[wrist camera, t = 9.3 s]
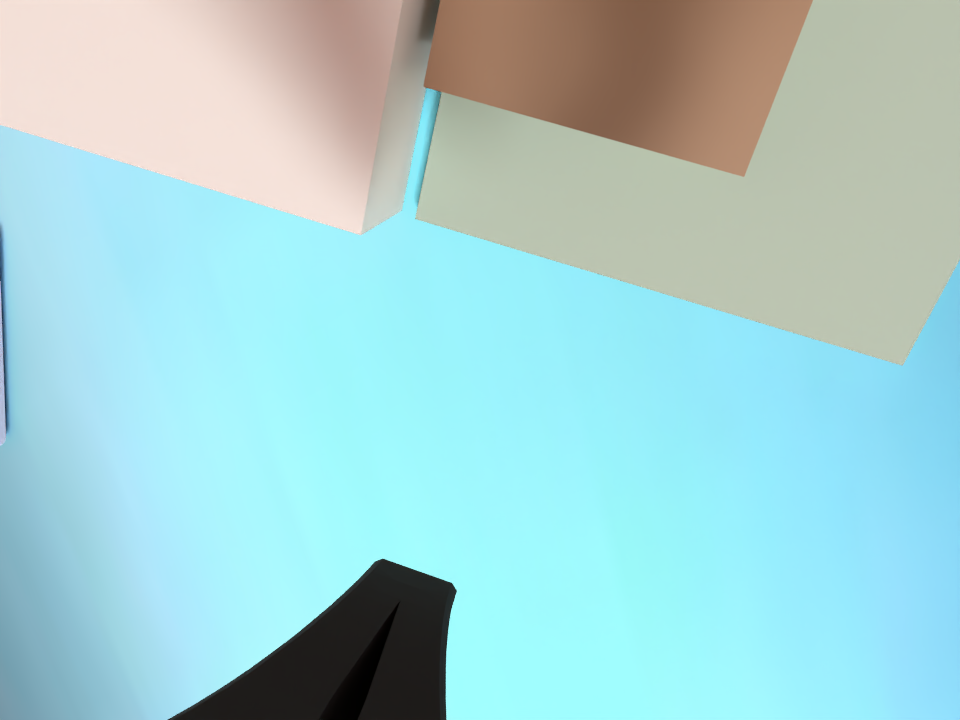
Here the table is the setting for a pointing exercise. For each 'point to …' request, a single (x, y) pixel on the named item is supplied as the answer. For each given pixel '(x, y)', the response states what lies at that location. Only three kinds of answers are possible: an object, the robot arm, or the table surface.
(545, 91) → the walnut tile
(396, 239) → the table surface
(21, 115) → the pale pink flat block
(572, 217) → the mat
